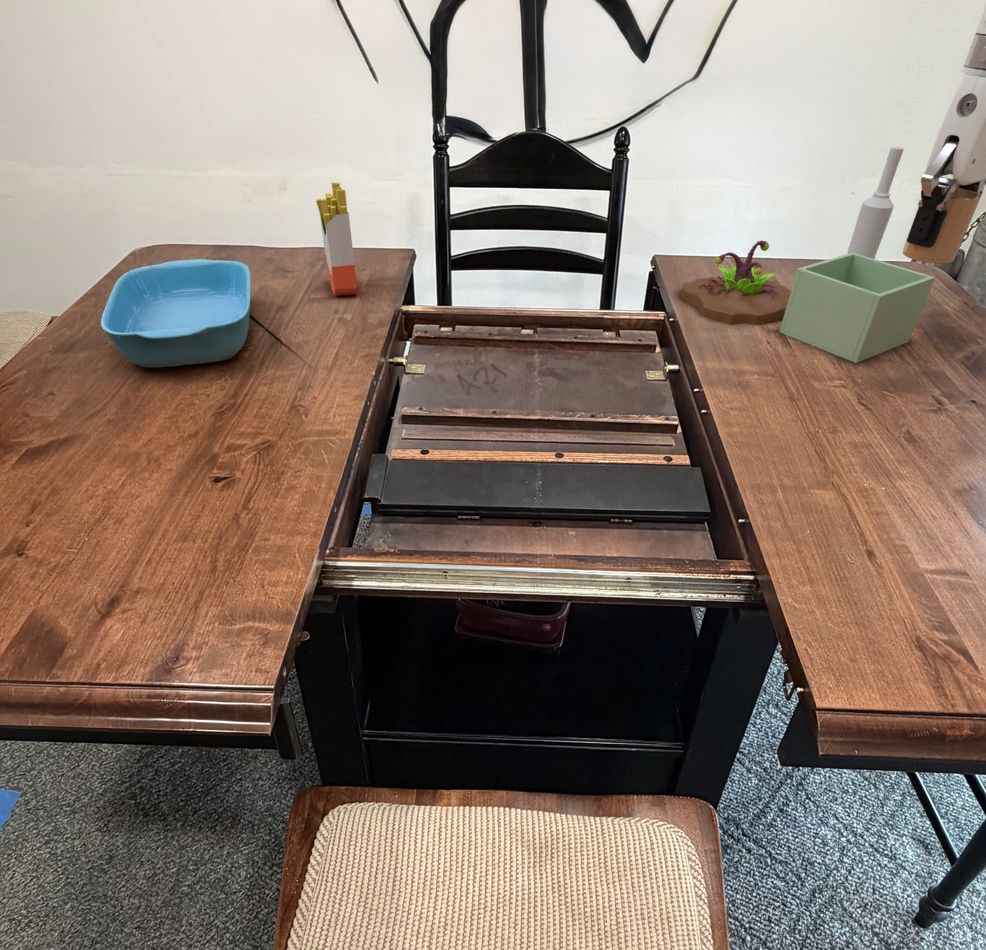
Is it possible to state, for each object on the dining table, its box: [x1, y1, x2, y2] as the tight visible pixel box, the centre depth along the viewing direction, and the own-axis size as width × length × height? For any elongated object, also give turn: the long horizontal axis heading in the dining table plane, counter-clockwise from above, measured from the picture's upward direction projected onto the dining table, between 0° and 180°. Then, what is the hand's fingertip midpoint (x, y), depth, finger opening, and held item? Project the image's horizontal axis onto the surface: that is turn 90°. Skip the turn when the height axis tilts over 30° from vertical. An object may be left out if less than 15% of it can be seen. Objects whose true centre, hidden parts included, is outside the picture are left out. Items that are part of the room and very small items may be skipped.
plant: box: [680, 240, 791, 326], centre depth 129 cm, size 20×20×11 cm
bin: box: [779, 253, 936, 364], centre depth 118 cm, size 15×15×11 cm
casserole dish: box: [100, 258, 252, 369], centre depth 118 cm, size 37×22×7 cm, turn 14°
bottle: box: [846, 146, 905, 259], centre depth 127 cm, size 5×5×25 cm
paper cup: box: [901, 185, 982, 264], centre depth 86 cm, size 6×6×7 cm
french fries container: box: [315, 181, 358, 297], centre depth 130 cm, size 5×11×18 cm, turn 17°
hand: (934, 238), depth 87 cm, fingers closed on paper cup, 6 cm apart
